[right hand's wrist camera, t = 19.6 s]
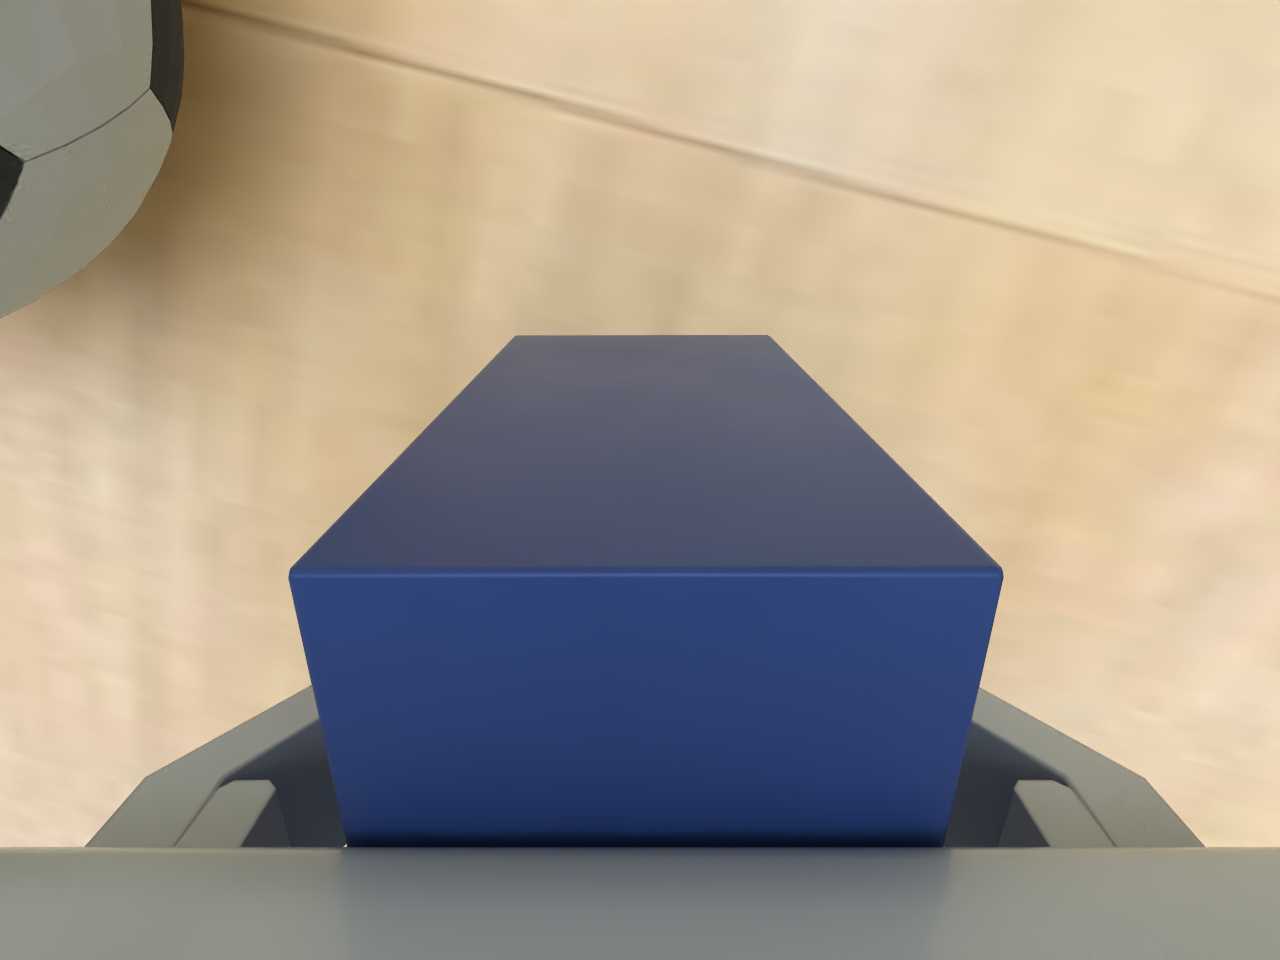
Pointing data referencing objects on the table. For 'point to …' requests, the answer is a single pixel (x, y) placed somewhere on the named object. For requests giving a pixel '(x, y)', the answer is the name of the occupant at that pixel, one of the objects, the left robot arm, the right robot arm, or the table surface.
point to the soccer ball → (79, 129)
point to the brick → (645, 614)
